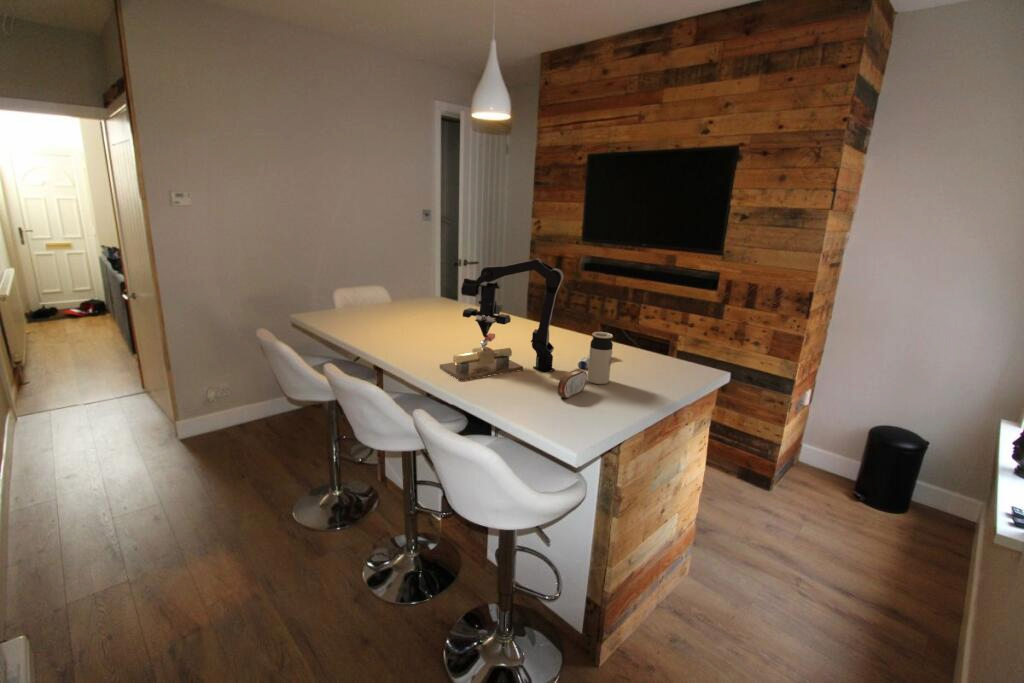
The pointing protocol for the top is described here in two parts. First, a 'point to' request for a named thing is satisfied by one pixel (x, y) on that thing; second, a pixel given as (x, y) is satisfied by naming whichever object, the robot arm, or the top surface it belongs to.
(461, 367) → the valve
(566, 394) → the tin
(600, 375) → the travel mug
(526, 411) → the top surface
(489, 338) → the lever
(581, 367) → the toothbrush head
